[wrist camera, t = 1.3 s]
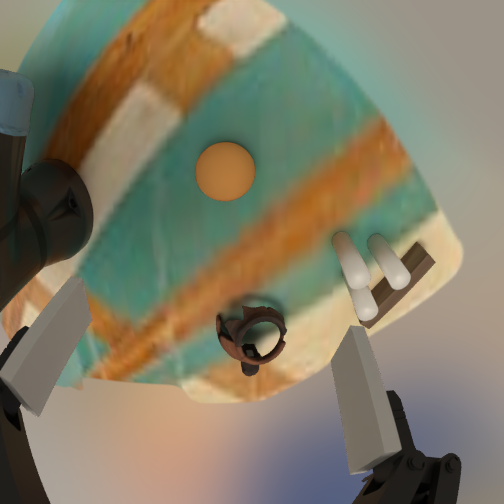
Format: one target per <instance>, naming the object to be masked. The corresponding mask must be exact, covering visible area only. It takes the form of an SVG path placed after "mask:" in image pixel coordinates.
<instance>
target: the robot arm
mask: <svg viewBox="0 0 504 504" xmlns="http://www.w3.org/2000/svg"><path fill="white" fill-rule="evenodd" d="M33 100H34V86H33V84H32V82H31V81H30V80H29V79H28V78H27V77H25V76H23V75H21V74H18V73H15V72H11V71H7V70H3V69H0V312H1V311H2V310H3V309H4V308H5V307H6V305H7V304H8V303H9V302H10V301H11V300H12V299H13V298H14V297H15V296H16V295H17V293H18V292H19V291H20V290H21V289H22V288H23V287H24V286H25V285H26V284H27V283H28V282H29V281H30V280H31V279H32V278H33V277H34V276H35V275H36V274H37V273H38V272H39V271H40V270H41V269H43V268H44V267H46V266H49V265H52V264H54V263H57V262H59V261H62V260H66V259H69V258H71V257H73V256H74V255H75V254H77V253H78V252H79V251H80V250H81V249H82V248H83V247H84V246H85V245H86V243H87V242H88V240H89V238H90V235H91V232H92V226H93V212H92V206H91V201H90V198H89V195H88V192H87V190H86V187H85V185H84V184H83V182H82V180H81V179H80V177H79V176H78V174H77V173H76V172H75V171H74V170H73V169H72V168H71V167H70V166H69V165H67V164H66V163H64V162H62V161H59V160H56V159H47V160H43V161H41V162H38V163H36V164H34V165H32V166H30V167H29V168H28V169H27V170H26V171H25V172H24V173H23V174H22V176H21V172H22V162H23V154H24V148H25V142H26V136H27V135H28V133H29V131H30V125H29V121H30V115H31V110H32V105H33ZM91 321H92V317H91V313H90V309H89V305H88V301H87V297H86V292H85V288H84V283H83V279H79V278H76V277H72V276H71V277H70V278H69V279H68V280H67V282H66V283H65V284H64V285H63V286H62V287H61V289H60V290H59V291H58V292H57V293H56V295H55V296H54V297H53V298H52V299H51V301H50V302H49V303H48V304H47V306H46V307H45V308H44V309H43V311H42V312H41V313H40V315H39V316H38V317H37V319H36V320H35V321H34V323H33V324H32V325H31V327H30V328H29V327H27V326H24V327H23V328H21V329H20V330H19V331H17V333H16V334H15V335H14V337H13V338H12V339H11V341H10V342H9V344H8V345H7V348H5V349H4V351H3V352H2V354H1V355H0V504H50V501H49V499H48V497H47V495H46V492H45V490H44V487H43V485H42V482H41V480H40V477H39V474H38V471H37V468H36V466H35V463H34V459H33V457H32V453H31V450H30V446H29V442H28V439H27V435H26V431H25V427H24V422H23V418H22V413H21V410H20V408H19V407H20V405H21V404H22V405H23V407H24V408H25V409H26V410H27V411H29V412H31V413H32V414H34V415H36V416H37V417H39V416H40V414H41V412H42V410H43V408H44V406H45V404H46V402H47V399H48V397H49V396H50V394H51V392H52V389H53V388H54V386H55V384H56V382H57V380H58V378H59V376H60V374H61V372H62V371H63V369H64V367H65V365H66V363H67V361H68V360H69V358H70V356H71V354H72V353H73V351H74V349H75V347H76V346H77V344H78V342H79V341H80V339H81V337H82V336H83V334H84V332H85V331H86V329H87V327H88V326H89V324H90V323H91ZM331 366H332V371H333V376H334V381H335V386H336V392H337V397H338V403H339V408H340V414H341V420H342V426H343V432H344V438H345V445H346V452H347V457H348V465H349V473H350V475H351V474H359V473H365V472H367V471H368V470H370V469H372V468H373V474H371V475H369V476H367V477H365V478H364V479H363V480H362V482H365V481H367V480H368V481H367V483H366V484H365V485H364V487H363V489H362V490H361V492H360V493H359V495H358V496H357V497H356V499H355V500H354V502H353V503H352V504H456V502H457V496H458V490H459V483H460V475H461V461H460V459H459V457H458V456H457V455H456V454H453V453H448V454H447V455H445V456H443V457H442V458H434V457H426V456H425V455H424V454H423V453H422V452H421V451H418V450H416V448H415V446H414V443H413V439H412V436H411V432H410V429H409V425H408V422H407V419H406V415H405V412H404V411H403V406H402V402H401V399H400V398H399V397H398V395H397V394H396V393H395V391H394V390H392V391H386V390H385V387H384V384H383V381H382V378H381V374H380V371H379V368H378V365H377V362H376V359H375V357H374V354H373V351H372V348H371V345H370V342H369V339H368V337H367V334H366V331H365V328H364V327H362V326H350V327H349V329H348V331H347V333H346V335H345V336H344V338H343V340H342V342H341V344H340V345H339V347H338V349H337V351H336V353H335V354H334V356H333V358H332V359H331Z"/></svg>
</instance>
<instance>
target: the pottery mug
mask: <svg viewBox="0 0 504 504" xmlns="http://www.w3.org/2000/svg"><path fill="white" fill-rule="evenodd" d="M242 308H243V314H244V320H243V321H242V320H240V319H235V320H228V321H227V322H226V323H225V327H226V328H227V329H228V332H229V334H230V335H231V336H229V335H227V334H225V333H224V332H223V331H222V330H221V328H220V324H221V321H220V316H219V315H217V317H216V331H217V334H218V339H219V342H220V344H221V346H222V347H223V349H224V350H225V351H226V352H227V353H228V354H229V355H230V356H231V357H233V358H234V359H237V360H239V361H241V367H242V372H243V373H244V374H245V375H246V376H252V375H255V374H256V373H257V372H258V370H259V365H261V364H265V363H268V362H269V361H271V360H273V359H274V358H276V357H277V356H278V355H279V354H280V353H281V351H282V350H283V348H284V346H285V343H286V342H285V341H283V338H284V335H285V334H286V332H287V329H286V327H285V323H284V318H283V317H282V315H281V314H280V313H279V312H278V311H276V310H275V309H273V308H271V307H267V308H266V307H265V306H261V307H255V308H252V307H247V306H242ZM265 321H268V322H272V323H274V324H276V325H277V326H278V328H279V330H280V338H279V341H278V343H277V345H276V346H275V348H274V349H273V350H272V351H271V352H270V353H268V354H267V355H265V356H263V357H262V356H261V355H260V354H259V353H258V351H257V349H256V347H255V344H246V343H245V344H244V345H243V346H242V345H241V344H242V339H243V336H244V335H245V333H246V332H247V330H248V329H249V328H250V327H251V326H253V325H255V324H257V323H260V322H265Z"/></svg>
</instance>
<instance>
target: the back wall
mask: <svg viewBox="0 0 504 504" xmlns="http://www.w3.org/2000/svg"><path fill="white" fill-rule="evenodd" d="M401 262H402V263H403V265H404V266H405V267H406V269H407V270H408V272H409V273H410V276H411V279H410V282H409V283H408V285H407V286H406V287H404V288H403V289H400V290H395V289H393V288H392V287H391V285H390V284H389V282H388V280H387V278H386V277H384V278H383V279H382V281H381V282H380V283H379V284H378V285H377V286H376V287H375V288H374V289H373V290H372V291H371V294H372V296H373V298H374V300H375V302H376V305H377V307H378V313H377V315H376V316H375V317H374V318H373V319H371V320H368V321H362V320H360V319H359V318H358V319H359V322H360V324H361V325H363V326H365V327H366V328H368V329H370V328H371V327H372V326H373V325H374V324H375V323H376V322H378V321H379V320H380V319H381V318H382V317H383V316H384V315H385V314H386V313H387V312H388V311H389V310H390V309H391V308H392V307H394V306H395V305H396V304H397V303H398V302H399V301H400V300H401V299H402V298H403V297H404V296H405V295H406V294H407V293H408V292H409V291H410V290H411V288H412V287H413V286H414V285H415V284H416V283H417V282H418V281H419V280H420V279H421V278H422V277H423V276H424V275H425V274H426V273H427V271H428V270H429V269H430V268H431V267H432V266H433V265H434V264H435V261H434V260H433V259H432V257H431V256H430V255H429V254H428V253H427V252H426V251H425V250H424V249H423V248H422V247H421V246H420V245H419V244H418V243H417V242H416V243H415V244H414V245H413V246H412V248H411V249H410V250H409V251H408V252H407V253H406V254H405V256H404V257H403V258H402V259H401Z"/></svg>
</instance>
